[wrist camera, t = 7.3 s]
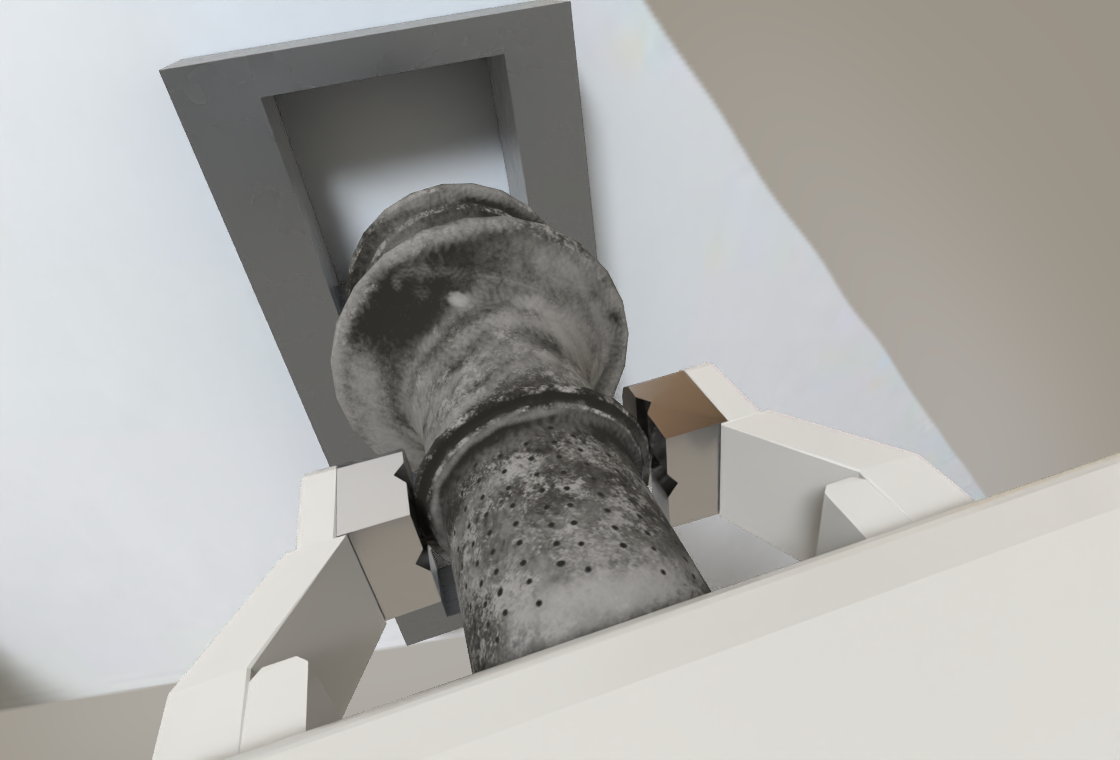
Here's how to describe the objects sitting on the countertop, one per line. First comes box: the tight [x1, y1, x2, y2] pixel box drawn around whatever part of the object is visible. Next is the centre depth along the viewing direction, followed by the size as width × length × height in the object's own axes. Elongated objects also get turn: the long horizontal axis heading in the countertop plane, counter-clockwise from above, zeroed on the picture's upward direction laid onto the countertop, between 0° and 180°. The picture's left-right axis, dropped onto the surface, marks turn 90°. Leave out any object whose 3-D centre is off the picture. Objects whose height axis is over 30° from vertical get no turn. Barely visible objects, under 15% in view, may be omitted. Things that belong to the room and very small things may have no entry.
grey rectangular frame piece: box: [159, 0, 597, 646], centre depth 30 cm, size 13×29×4 cm, turn 9°
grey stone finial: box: [331, 183, 711, 674], centre depth 11 cm, size 6×6×12 cm
